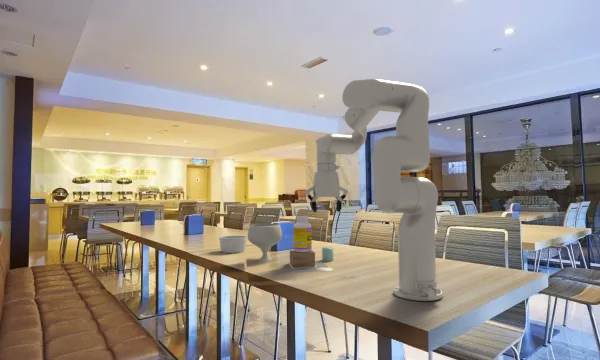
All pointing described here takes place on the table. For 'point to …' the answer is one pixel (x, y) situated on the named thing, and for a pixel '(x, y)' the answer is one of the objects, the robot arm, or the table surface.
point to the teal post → (327, 254)
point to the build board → (313, 268)
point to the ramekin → (233, 244)
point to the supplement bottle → (302, 235)
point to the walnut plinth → (302, 259)
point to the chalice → (264, 237)
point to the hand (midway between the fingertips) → (326, 211)
